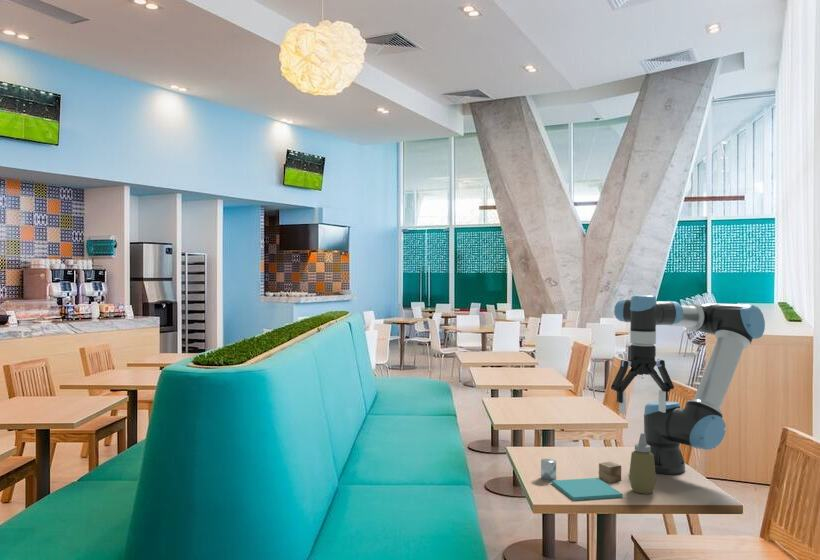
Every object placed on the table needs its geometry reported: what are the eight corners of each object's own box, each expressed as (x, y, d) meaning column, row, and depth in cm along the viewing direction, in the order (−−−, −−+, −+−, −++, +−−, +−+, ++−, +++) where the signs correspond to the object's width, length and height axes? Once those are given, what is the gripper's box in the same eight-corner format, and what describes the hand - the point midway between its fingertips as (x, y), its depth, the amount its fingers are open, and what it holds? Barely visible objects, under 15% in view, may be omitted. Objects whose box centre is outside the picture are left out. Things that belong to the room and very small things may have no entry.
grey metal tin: (552, 476, 216) (552, 458, 216) (558, 480, 211) (558, 462, 211) (538, 477, 215) (538, 459, 215) (544, 481, 210) (544, 463, 210)
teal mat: (597, 480, 211) (597, 477, 211) (622, 497, 195) (622, 493, 195) (551, 483, 208) (551, 480, 208) (573, 500, 192) (573, 497, 192)
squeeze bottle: (624, 491, 200) (625, 434, 200) (634, 485, 206) (634, 429, 206) (650, 497, 195) (651, 438, 195) (659, 490, 201) (660, 433, 201)
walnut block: (610, 476, 216) (610, 461, 216) (621, 480, 211) (621, 465, 211) (598, 478, 214) (599, 463, 214) (609, 482, 209) (609, 467, 209)
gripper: (671, 342, 206) (671, 408, 206) (600, 343, 202) (599, 411, 202) (686, 345, 199) (685, 413, 199) (612, 346, 194) (611, 416, 194)
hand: (642, 412), depth 200 cm, fingers open, 13 cm apart
